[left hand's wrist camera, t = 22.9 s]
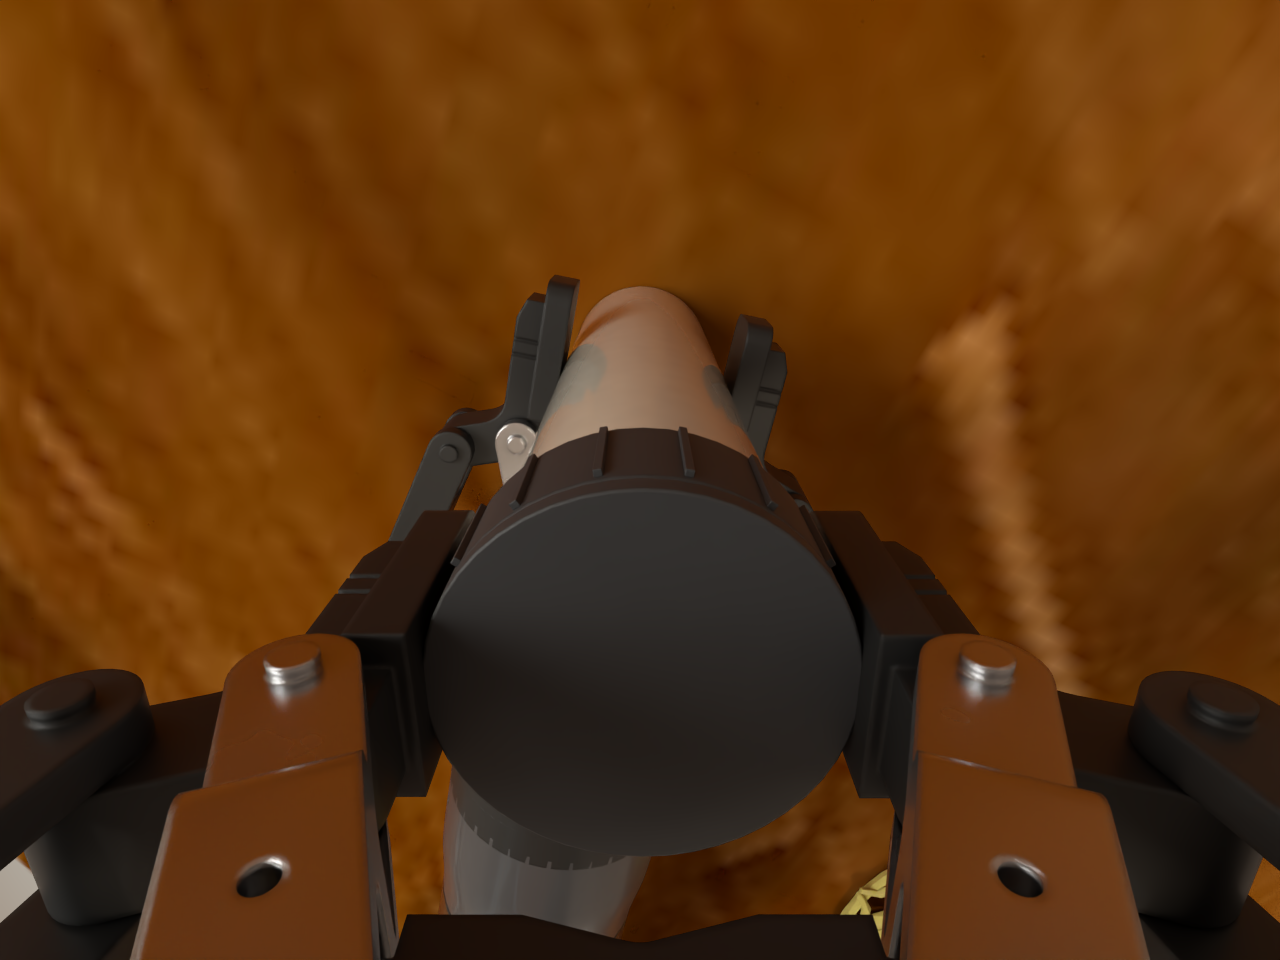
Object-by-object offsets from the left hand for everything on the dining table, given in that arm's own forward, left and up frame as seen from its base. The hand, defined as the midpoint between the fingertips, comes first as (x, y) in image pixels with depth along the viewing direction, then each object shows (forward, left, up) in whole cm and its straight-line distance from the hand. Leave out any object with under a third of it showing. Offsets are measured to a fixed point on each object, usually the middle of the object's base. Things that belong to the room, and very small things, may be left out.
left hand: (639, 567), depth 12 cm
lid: (0, 0, +3) cm, 3 cm away
